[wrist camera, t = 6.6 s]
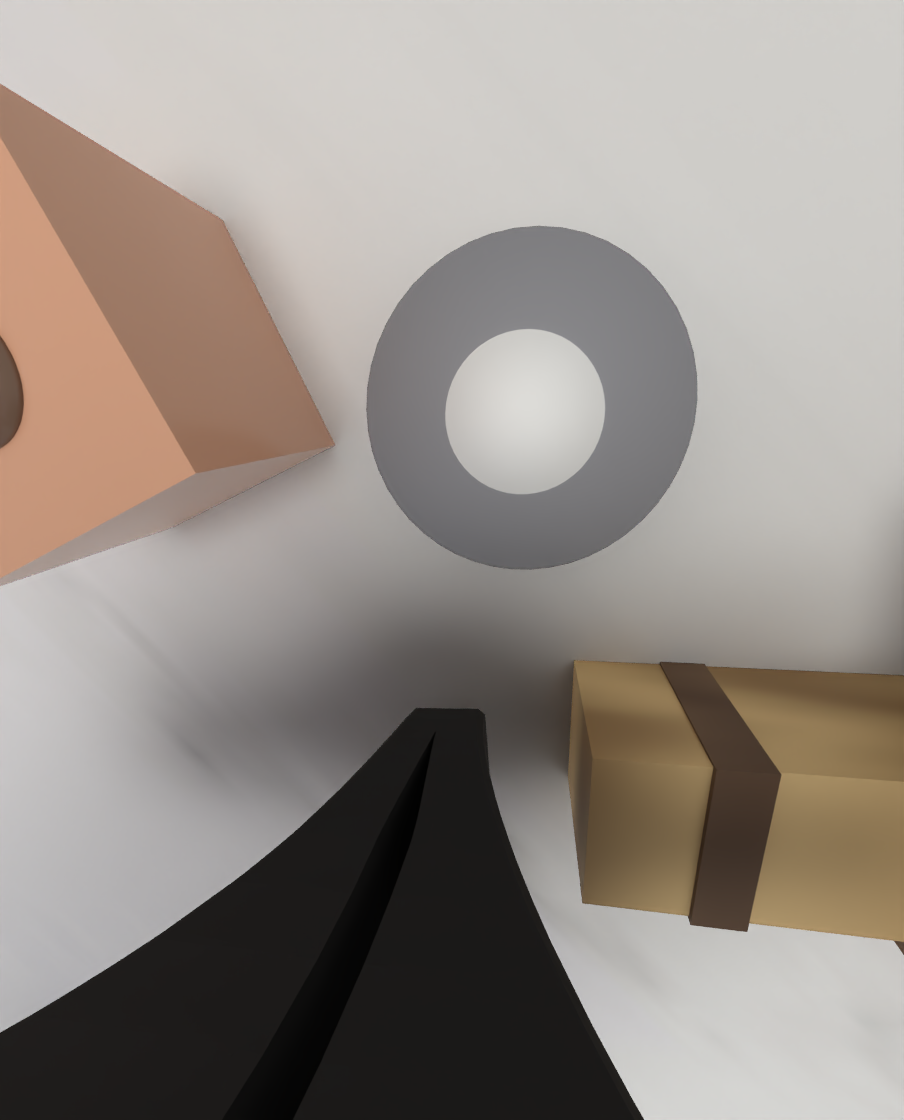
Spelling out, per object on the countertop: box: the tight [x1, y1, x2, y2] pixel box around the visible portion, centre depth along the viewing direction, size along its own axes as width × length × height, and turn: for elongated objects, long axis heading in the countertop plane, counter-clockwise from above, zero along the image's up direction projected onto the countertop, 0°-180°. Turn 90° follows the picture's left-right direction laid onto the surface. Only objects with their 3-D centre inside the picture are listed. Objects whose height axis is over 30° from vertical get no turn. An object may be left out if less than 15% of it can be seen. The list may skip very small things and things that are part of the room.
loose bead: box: [0, 84, 335, 586], centre depth 7 cm, size 4×4×4 cm
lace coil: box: [366, 226, 697, 569], centre depth 8 cm, size 5×5×1 cm
